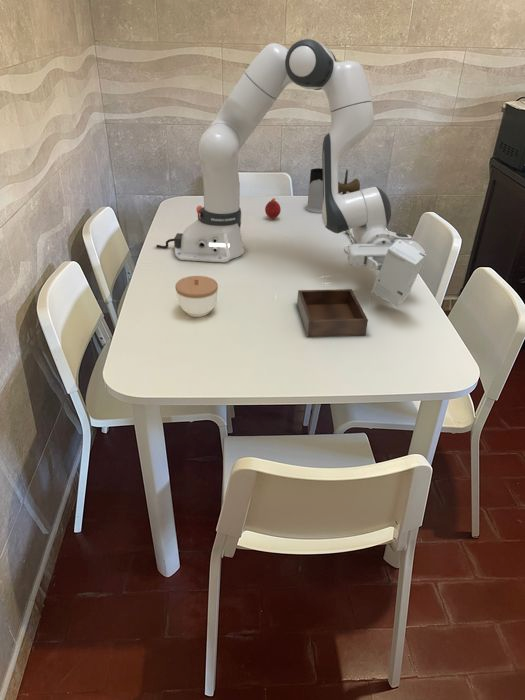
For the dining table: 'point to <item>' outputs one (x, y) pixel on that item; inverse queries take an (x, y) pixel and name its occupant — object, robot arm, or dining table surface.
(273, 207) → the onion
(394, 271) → the cosmetic box
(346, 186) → the kendama
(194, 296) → the trinket box
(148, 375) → the dining table surface
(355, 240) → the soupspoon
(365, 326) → the crate
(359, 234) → the robot arm
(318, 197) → the glass holder
